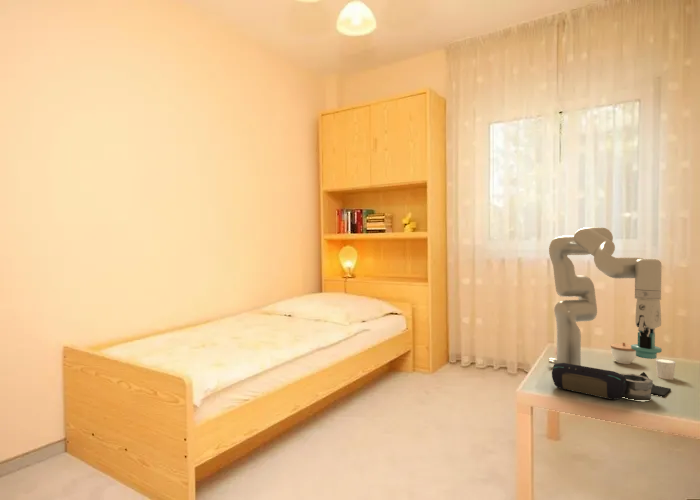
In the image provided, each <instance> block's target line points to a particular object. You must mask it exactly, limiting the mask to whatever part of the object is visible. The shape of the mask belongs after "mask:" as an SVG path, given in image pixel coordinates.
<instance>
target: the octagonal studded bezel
mask: <svg viewBox="0 0 700 500" xmlns="http://www.w3.org/2000/svg"><path fill="white" fill-rule="evenodd" d="M621 374H622V375H623V376H625V378H626V384H627V386H626V392H625V393H624V395H623V396H622V397H625V398H628V399H634V400H650V399H651V400H652V395H651V388H653V384H654V383H653V381H654V380H653V379H651V378H649V377H648V378H647V377H645V376H640V374H635V373H621Z"/></svg>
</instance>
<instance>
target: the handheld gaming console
mask: <svg viewBox="0 0 700 500" xmlns="http://www.w3.org/2000/svg"><path fill="white" fill-rule="evenodd" d="M639 375H640V376H645V377H647V378H649V376H648V375H647V374H646V372H644V371H643V372H641V373H640V374H639ZM669 393H671V388H669V387H665V386H661V385H660V386H659V385H655V384H654V383H653V388H651V394H653V395H652V396H655V395H658V396H657V397H660V396H662V397H661V398H665V397H666V396H667V395H668V394H669Z"/></svg>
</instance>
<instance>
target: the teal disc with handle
mask: <svg viewBox="0 0 700 500" xmlns="http://www.w3.org/2000/svg"><path fill="white" fill-rule="evenodd" d="M650 337H651V349H646V348H641V347H640V332H639V331H638V332H637V344H636V343H635V344H630V345H631V349H633V350H636V358H641V359H646V360H656V359H658V358H657V357H658V356H657V354H660V353H662V351H663V350H662V347H659V346H656V333H655V334H654V333H650Z"/></svg>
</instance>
